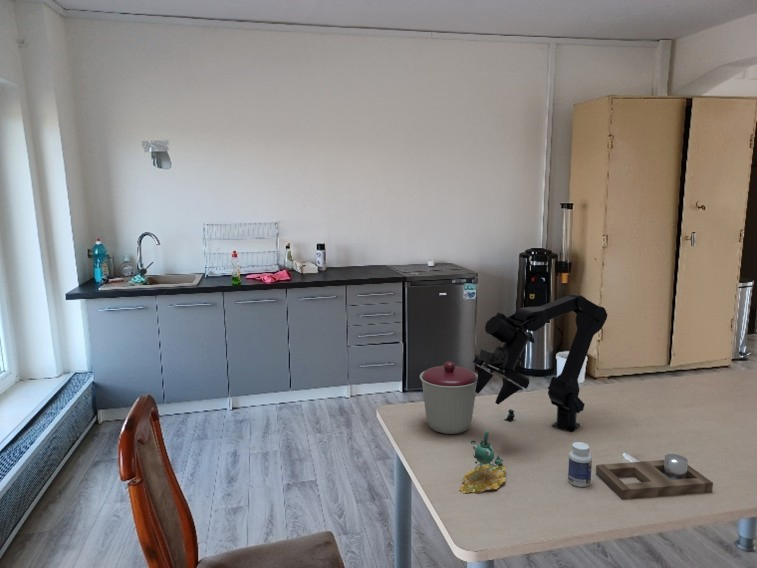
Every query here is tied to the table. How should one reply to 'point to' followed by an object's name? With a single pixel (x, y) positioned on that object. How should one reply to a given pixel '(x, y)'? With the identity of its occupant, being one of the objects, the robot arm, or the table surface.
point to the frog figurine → (484, 470)
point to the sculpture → (510, 416)
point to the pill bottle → (579, 465)
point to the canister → (449, 397)
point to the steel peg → (675, 467)
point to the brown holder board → (650, 480)
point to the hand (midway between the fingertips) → (486, 398)
